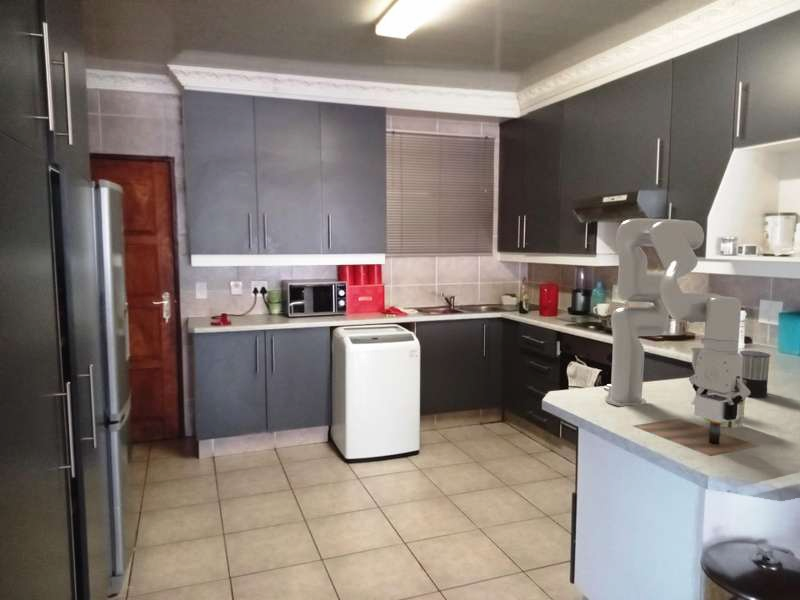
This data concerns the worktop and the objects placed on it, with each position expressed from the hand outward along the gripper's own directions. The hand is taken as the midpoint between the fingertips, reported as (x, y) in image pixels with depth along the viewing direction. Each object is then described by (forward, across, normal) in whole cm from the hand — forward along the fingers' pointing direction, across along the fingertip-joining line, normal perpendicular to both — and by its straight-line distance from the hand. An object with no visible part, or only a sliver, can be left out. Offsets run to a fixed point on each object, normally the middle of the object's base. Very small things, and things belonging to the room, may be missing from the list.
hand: (716, 414), depth 142 cm
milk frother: (+9, -36, +60) cm, 70 cm away
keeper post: (+7, 0, 0) cm, 7 cm away
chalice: (+9, -30, +33) cm, 46 cm away
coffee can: (+9, -11, +18) cm, 23 cm away
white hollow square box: (+1, 0, 0) cm, 1 cm away
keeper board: (+9, -6, 0) cm, 11 cm away
